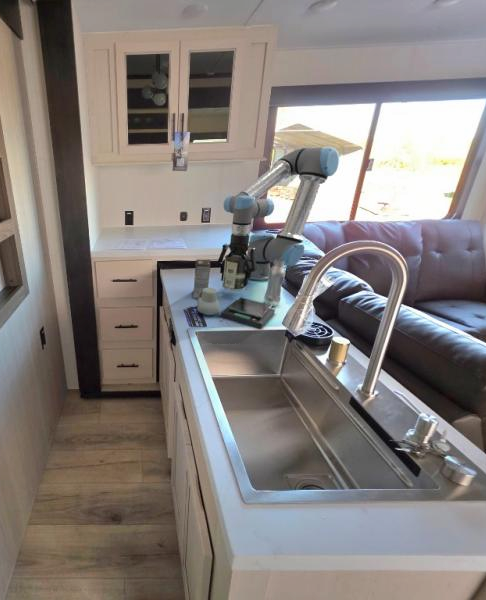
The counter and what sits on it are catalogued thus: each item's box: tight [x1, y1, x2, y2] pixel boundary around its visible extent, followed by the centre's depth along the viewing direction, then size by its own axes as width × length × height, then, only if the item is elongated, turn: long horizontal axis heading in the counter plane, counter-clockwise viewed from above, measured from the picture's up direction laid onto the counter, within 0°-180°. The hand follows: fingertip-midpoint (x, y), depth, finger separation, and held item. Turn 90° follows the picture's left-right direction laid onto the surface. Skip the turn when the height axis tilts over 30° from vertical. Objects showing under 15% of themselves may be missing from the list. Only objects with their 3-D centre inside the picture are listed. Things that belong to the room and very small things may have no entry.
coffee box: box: [192, 259, 211, 300], centre depth 144 cm, size 9×6×16 cm
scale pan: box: [227, 297, 273, 319], centre depth 127 cm, size 13×13×1 cm
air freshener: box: [196, 287, 221, 316], centre depth 128 cm, size 11×8×10 cm
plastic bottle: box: [263, 259, 286, 307], centre depth 133 cm, size 6×7×20 cm
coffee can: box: [221, 254, 250, 292], centre depth 141 cm, size 10×10×14 cm
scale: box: [220, 299, 276, 330], centre depth 127 cm, size 16×16×2 cm
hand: (234, 282), depth 143 cm, fingers closed on coffee can, 10 cm apart
